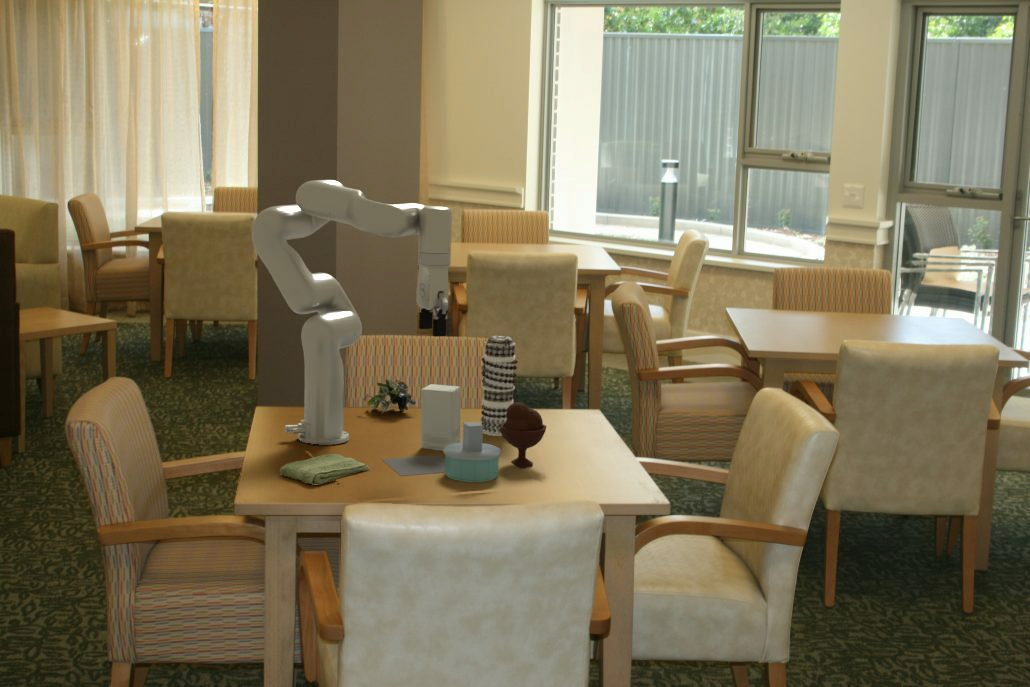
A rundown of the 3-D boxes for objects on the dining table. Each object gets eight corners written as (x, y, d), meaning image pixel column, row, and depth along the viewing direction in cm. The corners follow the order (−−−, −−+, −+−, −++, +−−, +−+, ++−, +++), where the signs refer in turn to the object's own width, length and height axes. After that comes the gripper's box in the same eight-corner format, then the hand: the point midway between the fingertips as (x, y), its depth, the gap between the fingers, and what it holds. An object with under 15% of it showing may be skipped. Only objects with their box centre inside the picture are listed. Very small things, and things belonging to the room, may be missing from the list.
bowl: (456, 486, 280) (457, 462, 279) (438, 471, 290) (439, 448, 289) (505, 481, 284) (506, 458, 283) (486, 467, 295) (486, 444, 294)
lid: (455, 462, 278) (456, 432, 277) (435, 447, 290) (436, 418, 288) (509, 458, 283) (510, 429, 282) (487, 444, 295) (489, 415, 294)
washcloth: (373, 473, 288) (373, 460, 287) (314, 489, 275) (314, 475, 274) (334, 462, 296) (334, 449, 296) (275, 476, 283) (275, 463, 282)
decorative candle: (508, 438, 322) (512, 341, 318) (474, 433, 325) (477, 338, 321) (519, 430, 331) (523, 336, 326) (486, 426, 334) (489, 332, 329)
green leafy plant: (400, 430, 347) (425, 398, 344) (376, 430, 338) (402, 398, 334) (376, 402, 352) (401, 370, 348) (352, 401, 342) (377, 369, 339)
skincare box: (460, 448, 311) (463, 386, 308) (450, 454, 305) (452, 391, 302) (429, 444, 314) (431, 382, 311) (418, 450, 308) (420, 387, 305)
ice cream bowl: (512, 473, 291) (514, 410, 289) (491, 460, 301) (493, 399, 298) (552, 468, 296) (555, 406, 293) (530, 456, 306) (532, 396, 303)
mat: (400, 478, 284) (400, 475, 284) (381, 461, 296) (381, 459, 296) (458, 473, 289) (458, 471, 289) (438, 457, 302) (438, 455, 302)
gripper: (407, 255, 300) (405, 326, 303) (431, 264, 284) (429, 339, 287) (437, 255, 303) (435, 325, 306) (462, 264, 287) (460, 338, 290)
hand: (432, 332), depth 296 cm, fingers open, 9 cm apart
